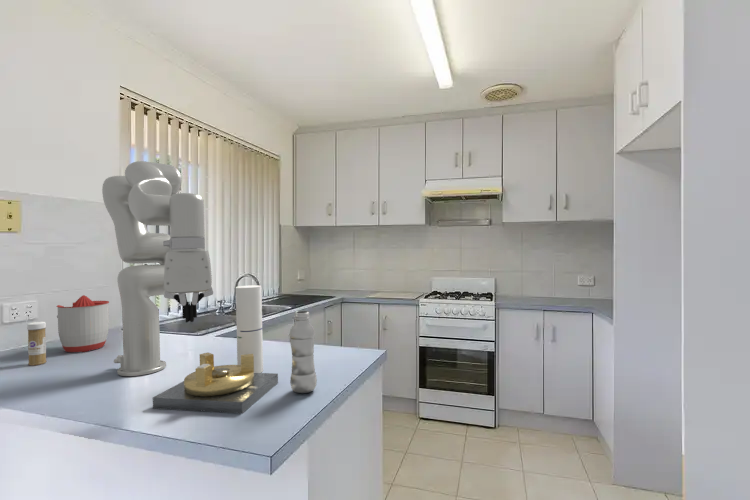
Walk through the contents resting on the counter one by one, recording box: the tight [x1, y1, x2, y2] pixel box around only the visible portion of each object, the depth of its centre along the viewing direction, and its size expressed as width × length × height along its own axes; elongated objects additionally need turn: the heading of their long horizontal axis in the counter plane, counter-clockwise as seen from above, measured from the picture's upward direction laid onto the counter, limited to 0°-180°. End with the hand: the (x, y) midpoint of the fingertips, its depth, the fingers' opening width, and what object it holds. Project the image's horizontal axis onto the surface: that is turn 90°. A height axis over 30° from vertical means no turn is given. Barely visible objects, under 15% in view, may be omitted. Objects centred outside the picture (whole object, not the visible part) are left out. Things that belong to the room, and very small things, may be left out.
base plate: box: [152, 372, 279, 414], centre depth 96 cm, size 22×19×3 cm
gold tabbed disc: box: [183, 352, 254, 396], centre depth 96 cm, size 16×16×6 cm
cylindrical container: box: [235, 284, 264, 373], centre depth 113 cm, size 7×7×25 cm
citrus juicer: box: [56, 294, 110, 353], centre depth 143 cm, size 16×17×20 cm
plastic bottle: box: [288, 310, 318, 394], centre depth 97 cm, size 6×7×20 cm
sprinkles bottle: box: [26, 321, 48, 366], centre depth 125 cm, size 5×5×13 cm
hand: (189, 321), depth 93 cm, fingers closed
